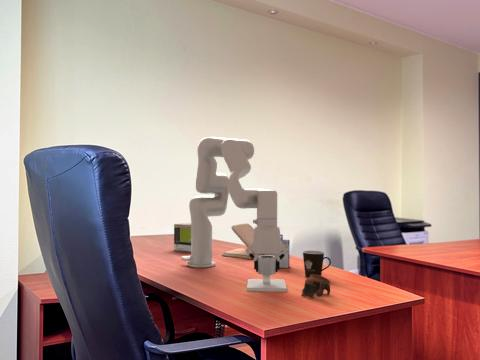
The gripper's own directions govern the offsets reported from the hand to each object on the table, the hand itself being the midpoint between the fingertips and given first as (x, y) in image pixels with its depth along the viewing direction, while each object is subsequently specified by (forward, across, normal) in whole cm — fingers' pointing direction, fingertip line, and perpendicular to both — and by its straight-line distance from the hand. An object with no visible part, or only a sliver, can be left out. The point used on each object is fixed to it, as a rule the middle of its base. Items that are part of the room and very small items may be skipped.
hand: (266, 271), depth 165 cm
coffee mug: (+6, +20, +17) cm, 27 cm away
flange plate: (+6, 0, 0) cm, 6 cm away
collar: (+1, 0, 0) cm, 1 cm away
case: (+6, -9, +68) cm, 69 cm away
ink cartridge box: (+6, +6, +38) cm, 39 cm away
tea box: (+5, -41, +80) cm, 90 cm away
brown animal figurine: (+6, +17, -12) cm, 21 cm away
